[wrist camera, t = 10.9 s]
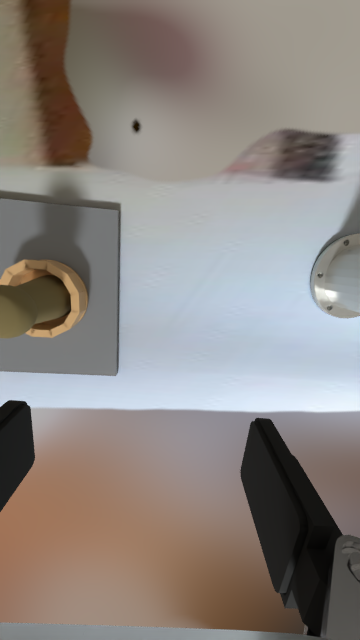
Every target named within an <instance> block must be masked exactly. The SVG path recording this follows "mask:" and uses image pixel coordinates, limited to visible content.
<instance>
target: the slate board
mask: <svg viewBox="0 0 360 640" xmlns="http://www.w3.org/2000/svg"><path fill="white" fill-rule="evenodd" d="M22 260H55V261H58V262H61V263H64V264H66V265H67V266H69V267H71V268H72V269H73V270H74V271H75V272H77V273H78V275H79V276H80V277H81V279H82V280H83V282H84V284H85V286H86V288H87V292H88V307H87V310H86V313H85V315H84V316H83V318H82V319H81V320H80V321H79V322H78V323H77V324H76V325H75V326H73V327H72V328H71V329H69V330H67V331H65V332H63V333H61V334H59V335H57V336H55V337H53V338H50V337H32V336H30V335H28V334H26V333H24V334H22V335H21V336H18V337H14V338H8V339H5V338H0V371H7V372H32V373H56V374H81V375H106V376H116V375H117V373H118V292H119V211H118V210H110V209H100V208H91V207H81V206H71V205H61V204H52V203H42V202H32V201H22V200H12V199H3V198H0V279H1V277H2V275H3V273H4V271H5V269H7V268H9V267H11V266H13V265H15V264H17V263H19V262H21V261H22Z"/></svg>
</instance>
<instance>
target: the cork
mask: <svg viewBox="0 0 360 640" xmlns="http://www.w3.org/2000/svg"><path fill="white" fill-rule="evenodd" d="M70 312H71V294H70V293H69V291H68V289H67V288H66V286H65V284H64V283H63V281H62V280H61V279H60V278H58V277H57V276H55V275H45V276H41V277H38V278H36V279H33V280H30V281H28V282H25V283H23V284H20V285H18V286H11V285H0V338H5V339H8V338H14V337H18V336H21V335H22V334H24V333H26V332H27V331H29V330H30V329H31V328H32V326H33V325H34V324H37V323H41V322H45V321H49V320H53V319H57V318H61V317H64V316H66V315H67V314H69V313H70Z"/></svg>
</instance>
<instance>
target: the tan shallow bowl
mask: <svg viewBox="0 0 360 640" xmlns="http://www.w3.org/2000/svg"><path fill="white" fill-rule="evenodd" d="M45 275H55V276H57V277H58V278H60V279H61V280H62V281H63V283H64V284H65V286H66V288H67V289H68V291H69V293H70V294H71V312H70V313H69V314H67V315H66V316H64V317H61V318H57V319H53V320H49V321H45V322H41V323H37V324H34V325H33V326H32V328H31V329H30V330H29V331H27V332H26V334H28V335H30V336H32V337H50V338H53V337H55V336H57V335H59V334H61V333H63V332H65V331H67V330H69V329H71V328H72V327H73V326H75V325H76V324H77V323H78V322H79V321H80V320H81V319H82V318H83V316H84V315H85V313H86V310H87V307H88V292H87V288H86V286H85V284H84V282H83V280H82V279H81V277H80V276H79V275H78V273H77V272H75V271H74V270H73V269H72V268H71V267H69V266H67V265H66V264H64V263H61V262H58V261H55V260H22V261H21V262H19V263H17V264H15V265H13V266H11V267H9V268H7V269H5V271H4V273H3V275H2V277H1V279H0V285H11V286H18V285H20V284H23V283H25V282H28V281H30V280H33V279H36V278H38V277H41V276H45Z"/></svg>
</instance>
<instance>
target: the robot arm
mask: <svg viewBox="0 0 360 640" xmlns="http://www.w3.org/2000/svg"><path fill="white" fill-rule="evenodd" d="M310 286H311V293H312V297H313V299H314V301H315V303H316V305H317V306H318V307H319V308H320V309H321V310H322V311H324V312H325V313H327V314H329V315H331V316H335V317H338V318H354V317H357V316H360V233H358V234H351V235H348V236H344V237H342V238H340V239H338V240H336V241H334V242H333V243H332V244H330V245H329V246H328V247H327V248H326V249H325V250H324V251H323V252H322V253H321V255H320V256H319V258H318V259H317V261H316V263H315V265H314V268H313V271H312V275H311V282H310ZM34 459H35V453H34V442H33V431H32V420H31V409H30V406H28V405H27V403H26V402H25V401H13V400H10V401H7V402H6V403H5V404H3V405H2V406H1V407H0V512H1V510H2V509H3V507H4V506H5V505H6V503H7V502H8V500H9V498H10V497H11V496H12V494H13V493H14V491H15V490H16V488H17V487H18V486H19V484H20V483H21V482H22V480H23V478H24V477H25V476H26V474H27V473H28V471H29V470H30V469H31V467H32V465H33V463H34ZM241 479H242V483H243V486H244V490H245V493H246V497H247V500H248V503H249V506H250V510H251V513H252V517H253V520H254V523H255V527H256V530H257V534H258V537H259V540H260V544H261V546H262V550H263V554H264V557H265V560H266V563H267V567H268V570H269V574H270V577H271V580H272V584H273V586H274V589H275V591H276V592H277V593H280V594H281V597H282V601H283V604H284V607H285V608H297V609H299V613H300V615H301V618H302V621H303V623H304V624H305V629H304V635H300V634H290V633H273V632H258V631H242V630H217V629H191V628H164V627H163V628H162V627H134V626H101V625H69V624H68V625H66V624H34V623H33V624H32V623H0V640H360V538H358V537H355V536H351V535H343V534H342V533H341V531H340V530H339V528H338V526H337V525H336V523H335V521H334V520H333V518H332V516H331V515H330V513H329V511H328V510H327V508H326V506H325V505H324V503H323V501H322V500H321V498H320V497H319V495H318V493H317V492H316V490H315V488H314V487H313V485H312V483H311V482H310V480H309V479H308V477H307V475H306V473H305V472H304V470H303V468H302V467H301V466H300V464H299V462H298V460H297V459H296V458H295V457H294V456H293V455H292V454H291V453H290V451H289V449H288V448H287V446H286V444H285V442H284V441H283V439H282V438H281V436H280V434H279V432H278V431H277V429H276V427H275V426H274V424H273V422H272V421H271V420H270V419H263V418H256V419H255V421H252V422H251V425H250V429H249V434H248V438H247V443H246V448H245V452H244V457H243V461H242V466H241Z"/></svg>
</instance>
